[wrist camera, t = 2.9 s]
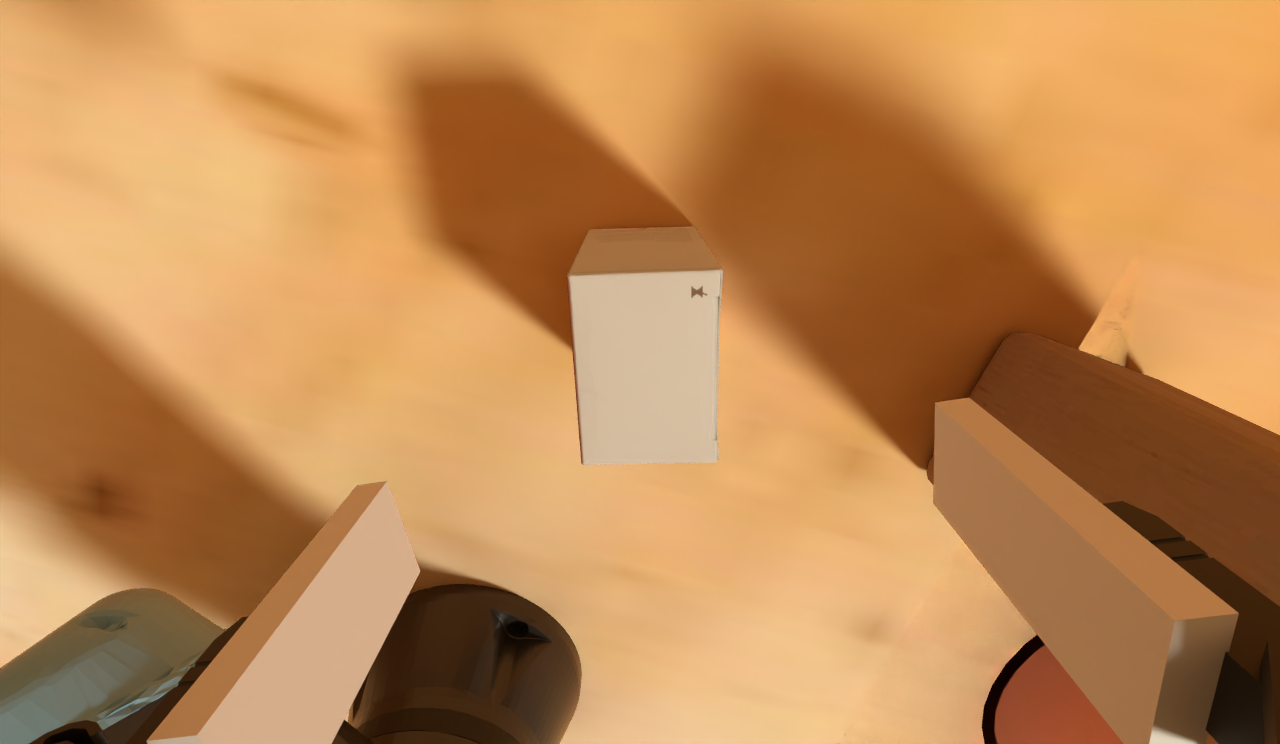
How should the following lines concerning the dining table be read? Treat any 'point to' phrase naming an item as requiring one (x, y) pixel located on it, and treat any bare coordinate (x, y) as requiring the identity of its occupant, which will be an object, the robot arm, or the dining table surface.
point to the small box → (646, 346)
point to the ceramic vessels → (1041, 704)
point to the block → (1144, 449)
